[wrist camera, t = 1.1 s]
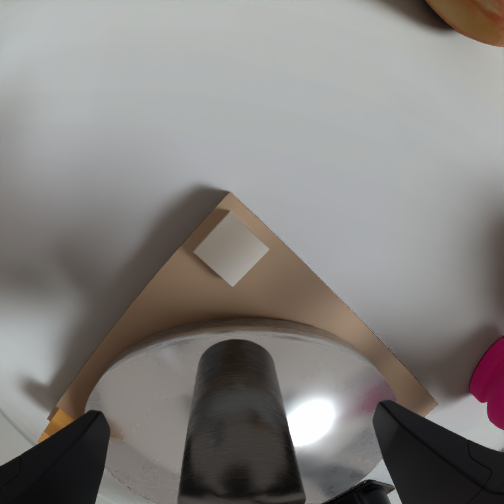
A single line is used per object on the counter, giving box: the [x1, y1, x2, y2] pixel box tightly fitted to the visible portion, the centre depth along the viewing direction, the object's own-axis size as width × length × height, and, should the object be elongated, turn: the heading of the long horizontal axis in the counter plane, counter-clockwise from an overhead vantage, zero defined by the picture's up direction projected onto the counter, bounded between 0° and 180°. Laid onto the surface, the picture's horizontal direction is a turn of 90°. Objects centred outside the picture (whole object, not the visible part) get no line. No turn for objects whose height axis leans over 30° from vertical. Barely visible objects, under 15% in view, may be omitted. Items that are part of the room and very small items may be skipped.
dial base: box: [38, 192, 438, 443], centre depth 13 cm, size 20×20×4 cm
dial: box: [85, 318, 397, 504], centre depth 10 cm, size 18×18×8 cm
